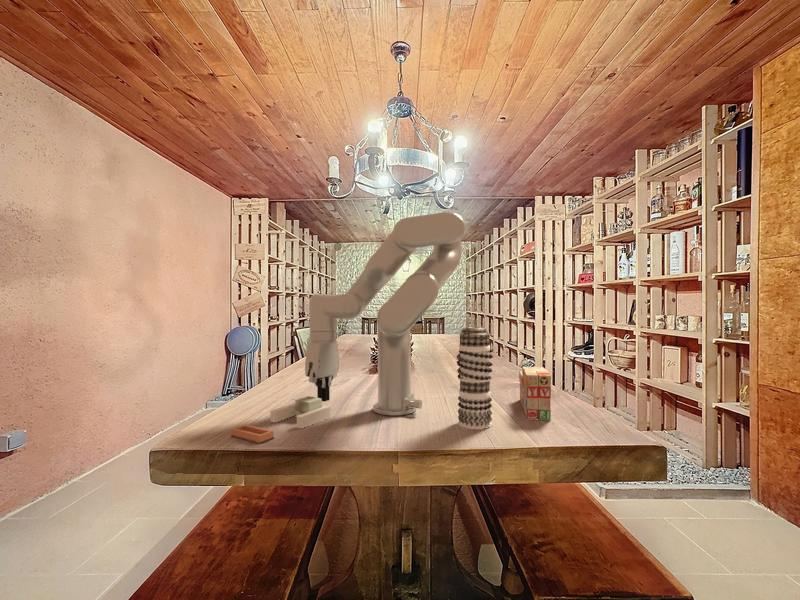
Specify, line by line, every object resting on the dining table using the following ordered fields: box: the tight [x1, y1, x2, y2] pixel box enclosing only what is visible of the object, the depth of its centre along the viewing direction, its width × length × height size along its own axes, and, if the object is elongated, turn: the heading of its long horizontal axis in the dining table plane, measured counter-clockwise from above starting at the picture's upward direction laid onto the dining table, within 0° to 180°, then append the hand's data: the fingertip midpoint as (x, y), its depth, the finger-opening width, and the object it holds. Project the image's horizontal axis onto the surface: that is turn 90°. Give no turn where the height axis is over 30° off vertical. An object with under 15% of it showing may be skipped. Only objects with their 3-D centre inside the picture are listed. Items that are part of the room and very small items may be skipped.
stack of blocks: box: [518, 366, 552, 421], centre depth 121 cm, size 21×6×12 cm, turn 169°
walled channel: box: [269, 402, 331, 430], centre depth 113 cm, size 11×11×3 cm
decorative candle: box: [456, 326, 494, 430], centre depth 108 cm, size 9×9×25 cm
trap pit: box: [230, 424, 275, 445], centre depth 99 cm, size 10×4×2 cm, turn 59°
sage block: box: [294, 396, 323, 419], centre depth 116 cm, size 5×5×5 cm
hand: (323, 400), depth 121 cm, fingers closed
